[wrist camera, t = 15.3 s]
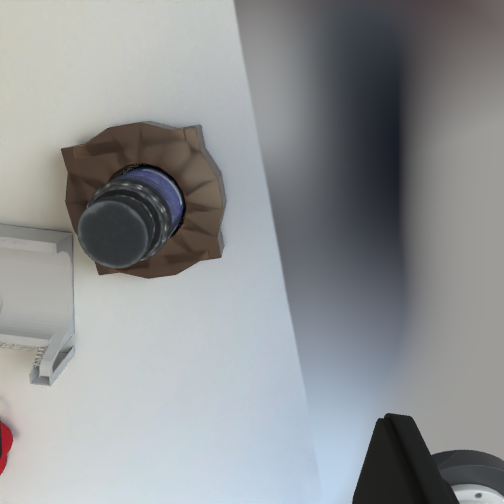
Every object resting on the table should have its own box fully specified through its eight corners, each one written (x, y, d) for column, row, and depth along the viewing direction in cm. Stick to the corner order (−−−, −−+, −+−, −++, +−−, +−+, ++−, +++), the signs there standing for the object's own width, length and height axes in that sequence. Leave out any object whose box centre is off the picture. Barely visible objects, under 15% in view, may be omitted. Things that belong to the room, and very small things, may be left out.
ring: (210, 110, 34) (205, 111, 32) (236, 254, 39) (234, 266, 36) (62, 135, 35) (44, 138, 33) (103, 273, 40) (91, 286, 37)
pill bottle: (125, 156, 36) (69, 176, 25) (194, 173, 36) (167, 200, 26) (116, 223, 38) (61, 267, 27) (181, 238, 38) (151, 288, 28)
